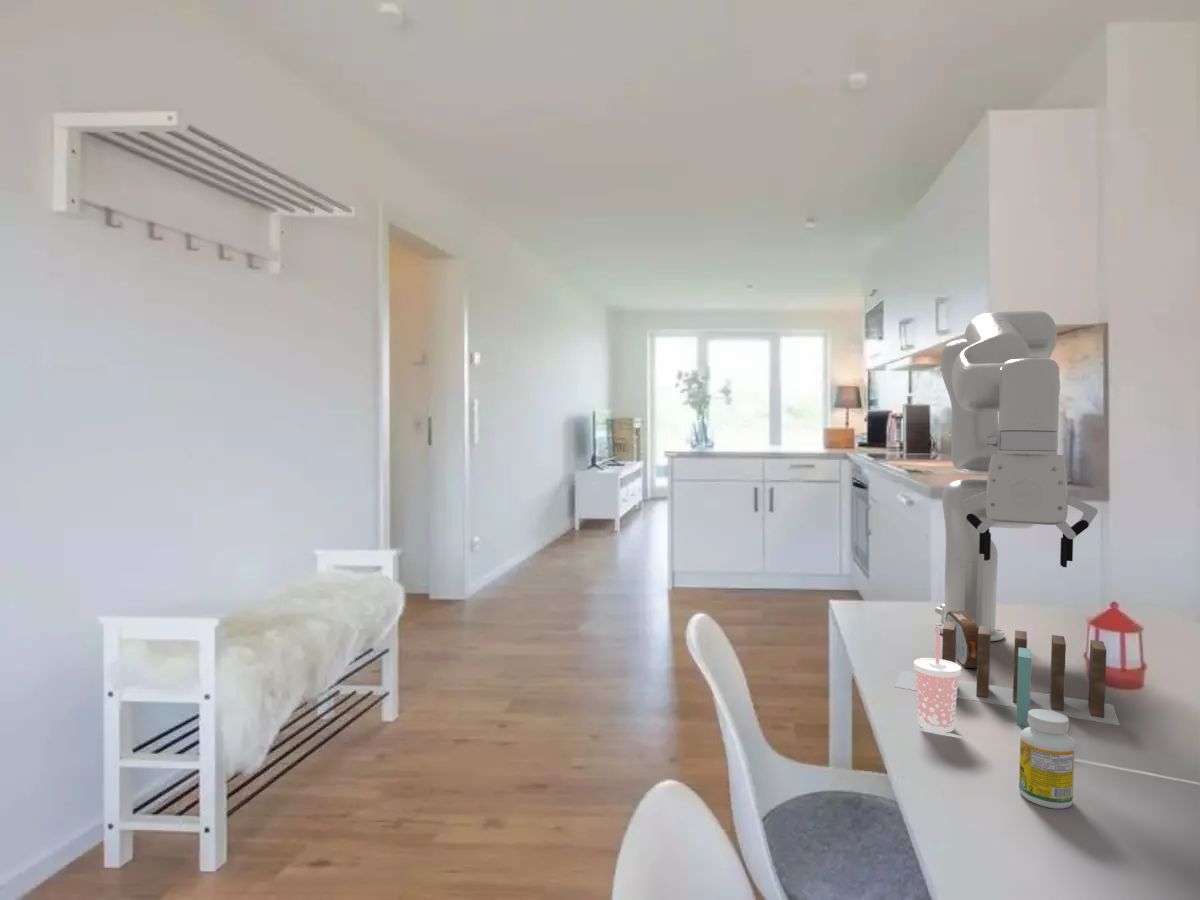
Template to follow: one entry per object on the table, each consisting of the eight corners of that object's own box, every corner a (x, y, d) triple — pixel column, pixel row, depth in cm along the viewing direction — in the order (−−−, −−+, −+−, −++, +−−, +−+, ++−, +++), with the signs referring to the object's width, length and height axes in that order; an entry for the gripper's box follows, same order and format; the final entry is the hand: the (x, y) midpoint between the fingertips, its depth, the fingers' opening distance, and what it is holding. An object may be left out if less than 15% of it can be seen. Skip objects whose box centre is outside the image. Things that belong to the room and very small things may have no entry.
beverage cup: (939, 740, 101) (942, 637, 101) (902, 723, 107) (905, 626, 106) (969, 731, 104) (972, 632, 103) (931, 716, 109) (934, 621, 109)
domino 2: (976, 696, 117) (978, 633, 116) (977, 686, 121) (979, 625, 121) (987, 698, 116) (989, 634, 116) (988, 688, 120) (990, 627, 120)
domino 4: (1016, 726, 106) (1018, 656, 106) (1016, 714, 111) (1018, 647, 110) (1029, 728, 105) (1031, 658, 105) (1028, 716, 110) (1030, 649, 109)
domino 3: (1012, 702, 114) (1014, 637, 114) (1013, 692, 119) (1015, 630, 118) (1024, 704, 113) (1026, 639, 113) (1024, 694, 118) (1026, 631, 117)
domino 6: (1090, 715, 109) (1093, 648, 109) (1088, 704, 114) (1090, 639, 113) (1104, 718, 109) (1106, 649, 108) (1100, 706, 113) (1103, 641, 113)
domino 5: (1050, 709, 112) (1053, 642, 111) (1049, 698, 116) (1051, 634, 116) (1063, 711, 111) (1065, 644, 111) (1061, 700, 115) (1064, 636, 115)
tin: (984, 675, 128) (985, 626, 127) (964, 674, 128) (965, 625, 128) (960, 649, 143) (961, 605, 142) (942, 648, 143) (943, 604, 143)
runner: (894, 688, 121) (894, 686, 121) (902, 672, 129) (902, 670, 129) (1119, 727, 106) (1119, 725, 106) (1112, 706, 114) (1112, 704, 114)
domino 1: (941, 690, 119) (942, 628, 119) (944, 681, 124) (945, 621, 123) (952, 692, 118) (954, 629, 118) (954, 683, 123) (956, 622, 122)
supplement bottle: (1068, 815, 82) (1071, 728, 81) (1013, 799, 85) (1016, 716, 85) (1076, 796, 86) (1079, 714, 86) (1023, 782, 89) (1026, 702, 89)
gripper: (959, 443, 109) (956, 560, 109) (1101, 445, 101) (1098, 572, 101) (963, 443, 116) (960, 554, 116) (1097, 445, 107) (1094, 565, 107)
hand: (1024, 562), depth 108 cm, fingers open, 9 cm apart
